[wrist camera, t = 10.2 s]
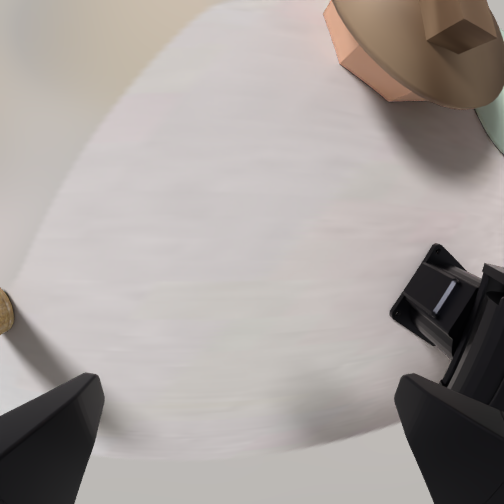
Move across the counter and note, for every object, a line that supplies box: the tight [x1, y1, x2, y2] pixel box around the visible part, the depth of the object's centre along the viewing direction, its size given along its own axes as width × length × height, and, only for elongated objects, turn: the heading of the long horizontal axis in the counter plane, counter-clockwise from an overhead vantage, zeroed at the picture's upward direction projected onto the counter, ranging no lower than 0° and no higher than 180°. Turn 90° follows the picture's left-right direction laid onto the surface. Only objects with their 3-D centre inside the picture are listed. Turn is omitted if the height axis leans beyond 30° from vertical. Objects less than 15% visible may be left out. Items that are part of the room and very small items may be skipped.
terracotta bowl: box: [323, 0, 428, 102], centre depth 14 cm, size 10×10×5 cm
